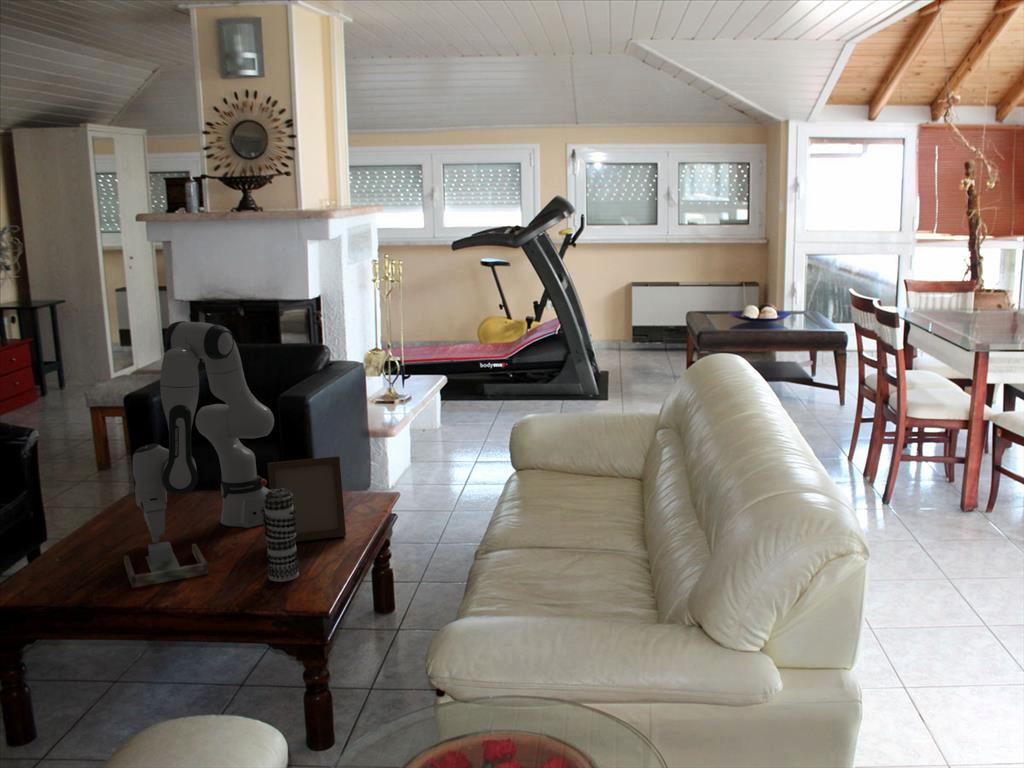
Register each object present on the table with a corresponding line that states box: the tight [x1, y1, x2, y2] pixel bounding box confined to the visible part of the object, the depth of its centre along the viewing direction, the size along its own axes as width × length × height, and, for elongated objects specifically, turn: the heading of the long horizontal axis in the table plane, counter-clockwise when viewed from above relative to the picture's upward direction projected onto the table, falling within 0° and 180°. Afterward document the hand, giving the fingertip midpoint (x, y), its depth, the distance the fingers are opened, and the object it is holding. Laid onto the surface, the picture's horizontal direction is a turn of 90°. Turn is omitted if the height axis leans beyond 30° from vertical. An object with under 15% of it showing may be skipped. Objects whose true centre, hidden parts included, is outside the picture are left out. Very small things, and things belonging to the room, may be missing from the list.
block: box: [147, 541, 174, 564], centre depth 294 cm, size 6×6×4 cm
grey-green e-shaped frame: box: [123, 543, 209, 589], centre depth 288 cm, size 20×24×3 cm
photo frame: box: [266, 455, 347, 543], centre depth 310 cm, size 15×22×25 cm
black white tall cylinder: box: [262, 488, 300, 583], centre depth 277 cm, size 9×9×25 cm
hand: (155, 541), depth 302 cm, fingers closed
